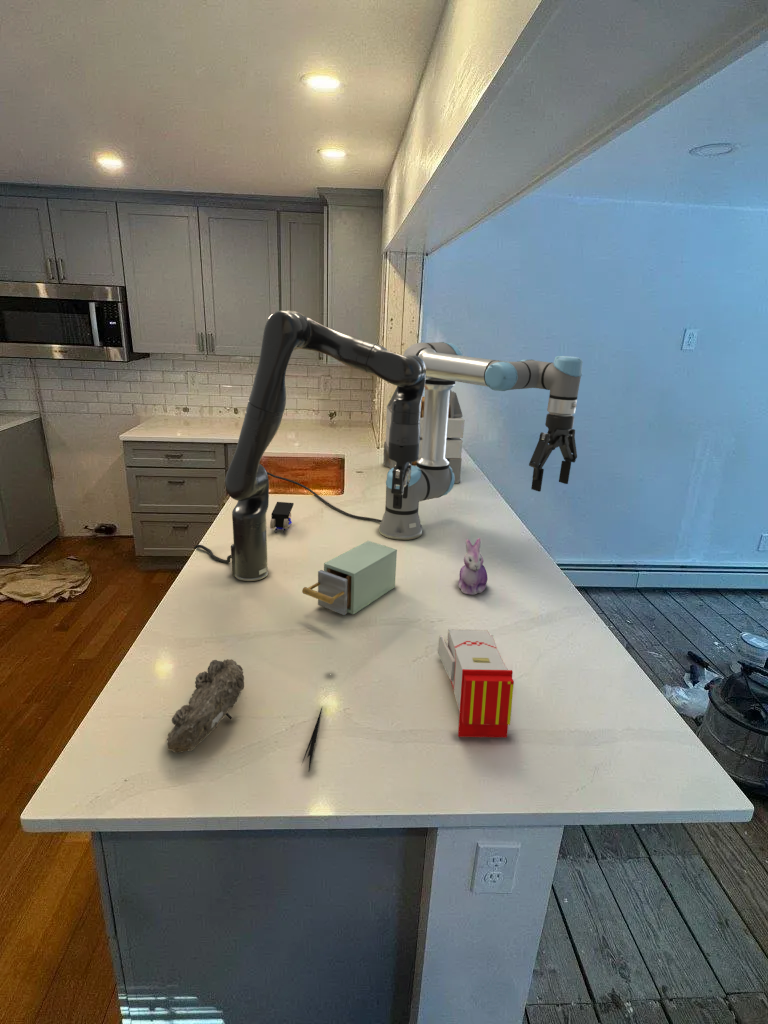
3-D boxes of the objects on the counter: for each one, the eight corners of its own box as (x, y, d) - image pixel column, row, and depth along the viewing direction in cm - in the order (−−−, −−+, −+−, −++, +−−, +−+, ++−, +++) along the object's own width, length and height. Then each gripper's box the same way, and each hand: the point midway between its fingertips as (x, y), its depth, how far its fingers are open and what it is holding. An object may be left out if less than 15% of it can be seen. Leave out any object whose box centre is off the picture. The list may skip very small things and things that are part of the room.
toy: (488, 613, 130) (523, 677, 101) (484, 667, 133) (517, 744, 104) (435, 612, 130) (455, 676, 101) (432, 666, 133) (451, 743, 103)
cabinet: (353, 614, 146) (354, 573, 142) (323, 602, 151) (323, 563, 147) (394, 587, 162) (397, 549, 158) (366, 577, 167) (368, 540, 163)
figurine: (469, 599, 156) (474, 549, 151) (448, 583, 165) (453, 535, 160) (496, 592, 161) (502, 544, 156) (475, 577, 169) (480, 531, 164)
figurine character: (289, 539, 194) (294, 519, 208) (288, 519, 191) (294, 500, 204) (269, 538, 194) (276, 518, 208) (268, 518, 191) (275, 499, 204)
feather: (331, 679, 122) (336, 673, 122) (307, 777, 96) (313, 769, 95) (324, 675, 122) (329, 669, 121) (298, 772, 95) (304, 764, 95)
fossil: (192, 660, 117) (244, 628, 112) (224, 691, 120) (276, 661, 115) (142, 746, 98) (202, 712, 93) (182, 779, 101) (242, 748, 96)
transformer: (382, 463, 289) (386, 382, 275) (445, 464, 293) (451, 384, 279) (390, 482, 257) (394, 392, 243) (460, 483, 261) (468, 394, 247)
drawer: (329, 625, 139) (329, 589, 136) (302, 613, 144) (302, 579, 140) (385, 589, 158) (386, 557, 155) (359, 579, 163) (360, 548, 159)
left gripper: (394, 433, 145) (391, 493, 151) (383, 445, 132) (380, 510, 138) (423, 435, 144) (419, 496, 149) (415, 448, 131) (410, 514, 136)
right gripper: (545, 420, 148) (534, 497, 155) (596, 412, 163) (584, 482, 170) (522, 415, 153) (512, 490, 160) (574, 408, 169) (563, 476, 176)
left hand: (400, 503), depth 144 cm, fingers open, 8 cm apart
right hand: (549, 486), depth 165 cm, fingers open, 13 cm apart
